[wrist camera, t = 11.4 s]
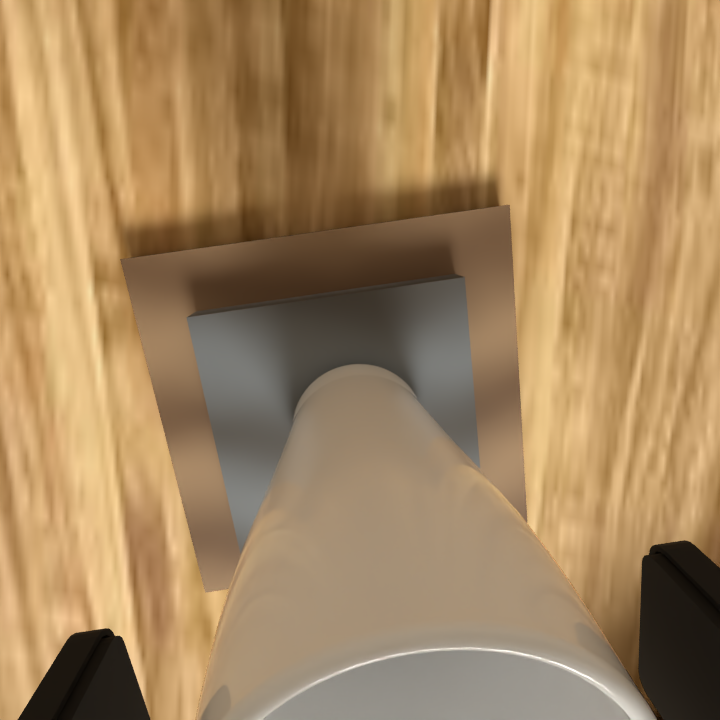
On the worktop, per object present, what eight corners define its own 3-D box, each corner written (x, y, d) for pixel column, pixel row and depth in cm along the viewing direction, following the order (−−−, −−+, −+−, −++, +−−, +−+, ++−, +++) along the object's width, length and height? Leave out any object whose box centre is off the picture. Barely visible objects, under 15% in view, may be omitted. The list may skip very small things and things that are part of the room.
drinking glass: (470, 416, 21) (786, 815, 7) (359, 522, 22) (427, 1077, 8) (355, 307, 20) (443, 514, 5) (241, 425, 21) (45, 886, 6)
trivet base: (131, 258, 21) (104, 261, 19) (499, 206, 22) (523, 202, 19) (210, 575, 25) (197, 615, 23) (518, 526, 26) (540, 559, 23)
